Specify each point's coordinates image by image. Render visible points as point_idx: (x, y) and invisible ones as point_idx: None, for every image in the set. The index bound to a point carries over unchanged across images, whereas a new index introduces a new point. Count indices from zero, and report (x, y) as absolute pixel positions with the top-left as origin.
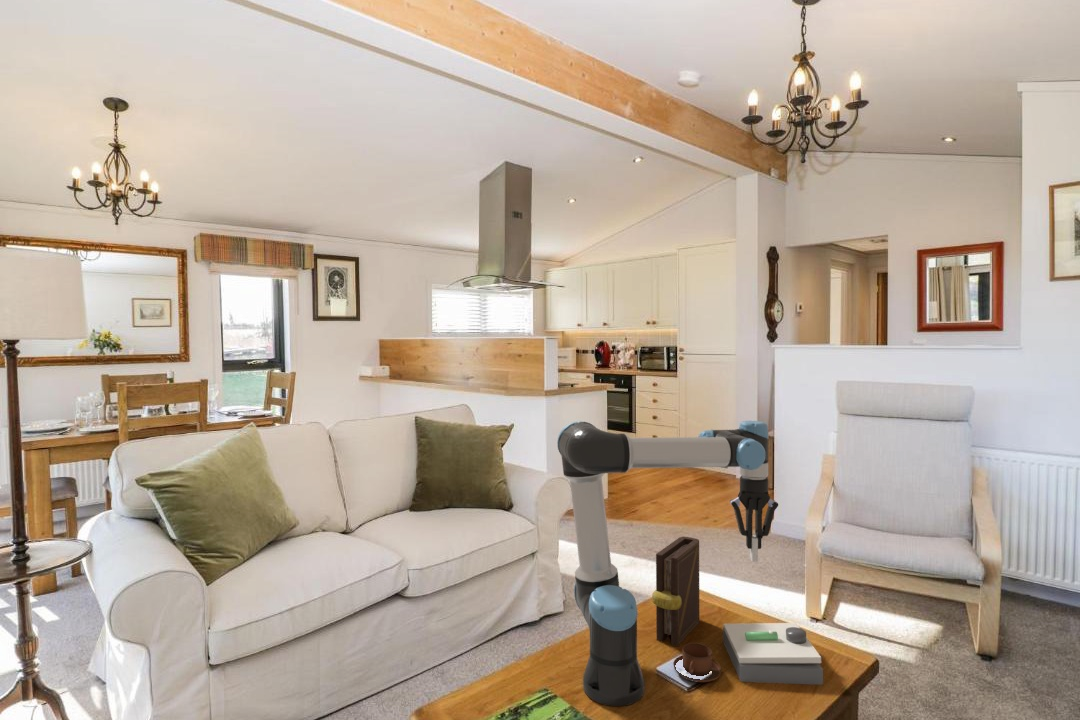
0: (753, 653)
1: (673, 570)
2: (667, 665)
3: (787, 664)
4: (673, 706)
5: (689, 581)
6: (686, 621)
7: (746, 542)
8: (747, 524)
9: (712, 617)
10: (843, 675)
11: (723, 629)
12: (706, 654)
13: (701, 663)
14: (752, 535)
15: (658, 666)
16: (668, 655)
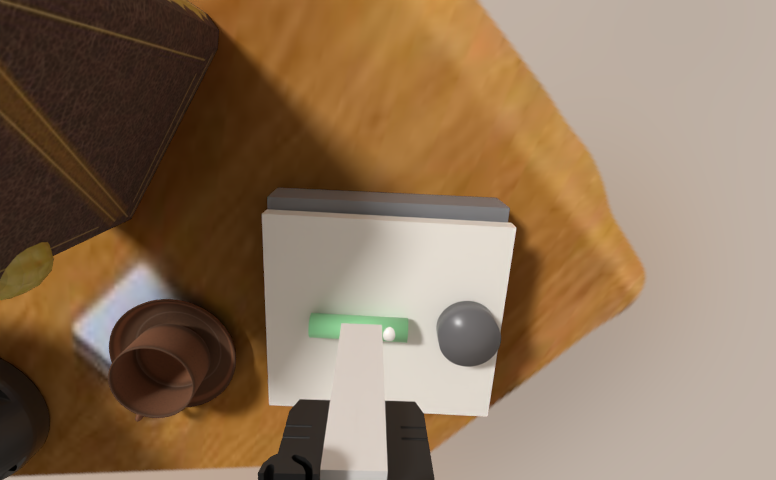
0: (313, 388)
1: None
2: (102, 317)
3: None
4: (119, 459)
5: (43, 151)
6: (136, 163)
7: (283, 443)
8: None
9: (273, 6)
10: (541, 344)
11: (267, 205)
12: (191, 350)
13: (168, 406)
14: (351, 475)
15: (78, 322)
16: (104, 270)
